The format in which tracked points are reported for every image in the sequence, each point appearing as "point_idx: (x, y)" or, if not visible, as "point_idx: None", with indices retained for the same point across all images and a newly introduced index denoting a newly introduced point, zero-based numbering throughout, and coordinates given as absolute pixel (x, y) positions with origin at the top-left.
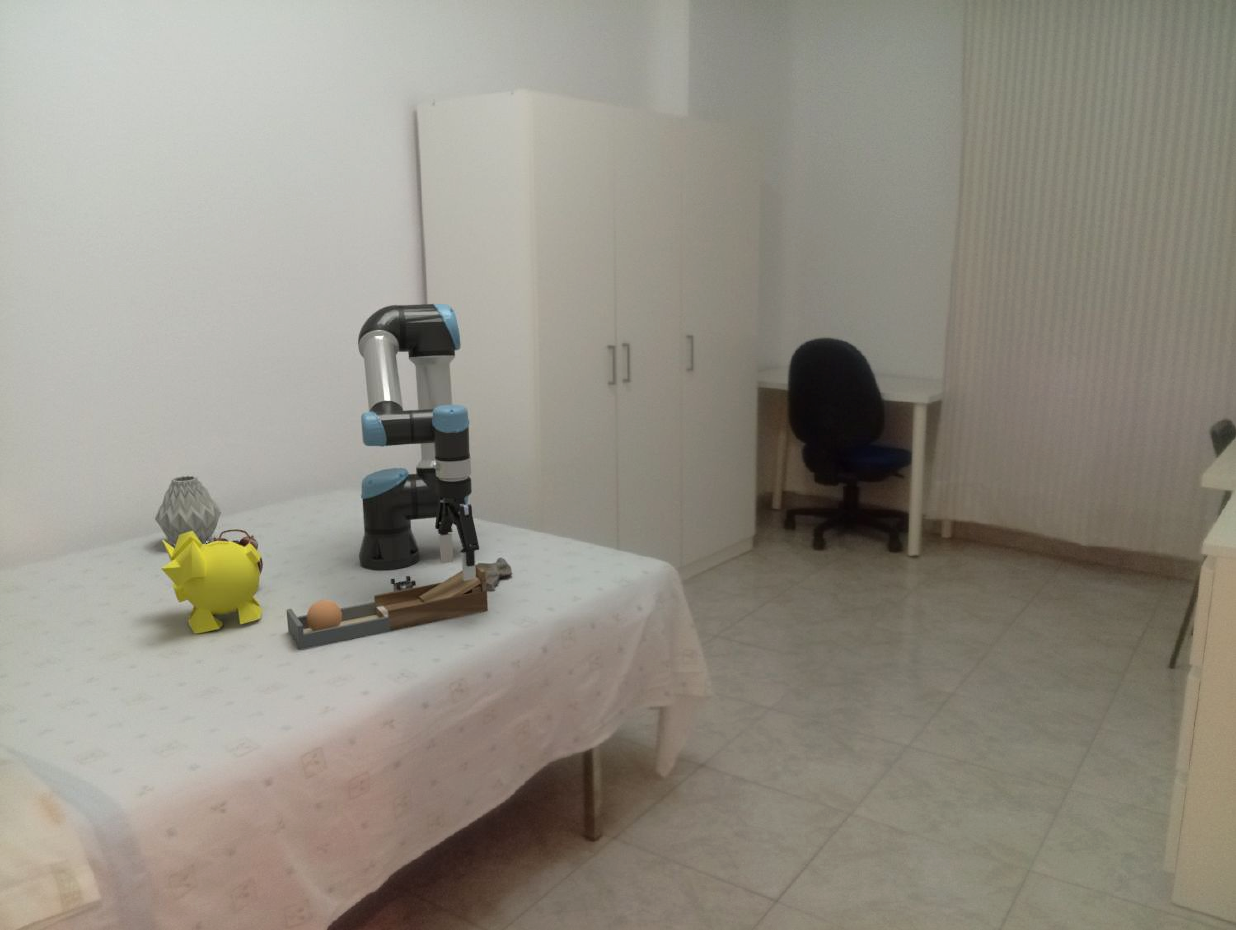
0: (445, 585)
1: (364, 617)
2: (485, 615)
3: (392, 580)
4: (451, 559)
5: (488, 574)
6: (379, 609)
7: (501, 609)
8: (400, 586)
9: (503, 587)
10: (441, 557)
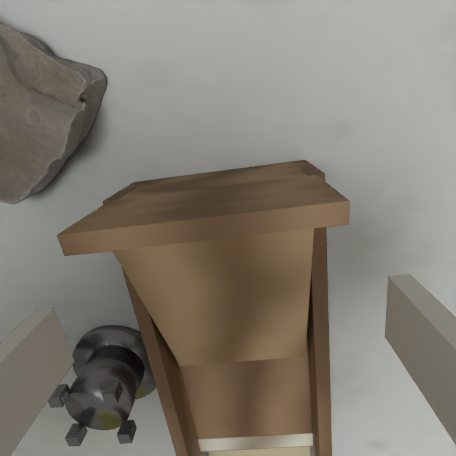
0: (193, 317)
1: (211, 451)
2: (345, 180)
3: (79, 441)
4: (49, 326)
5: (7, 74)
6: (221, 448)
7: (319, 106)
8: (114, 416)
9: (71, 19)
10: (53, 389)
